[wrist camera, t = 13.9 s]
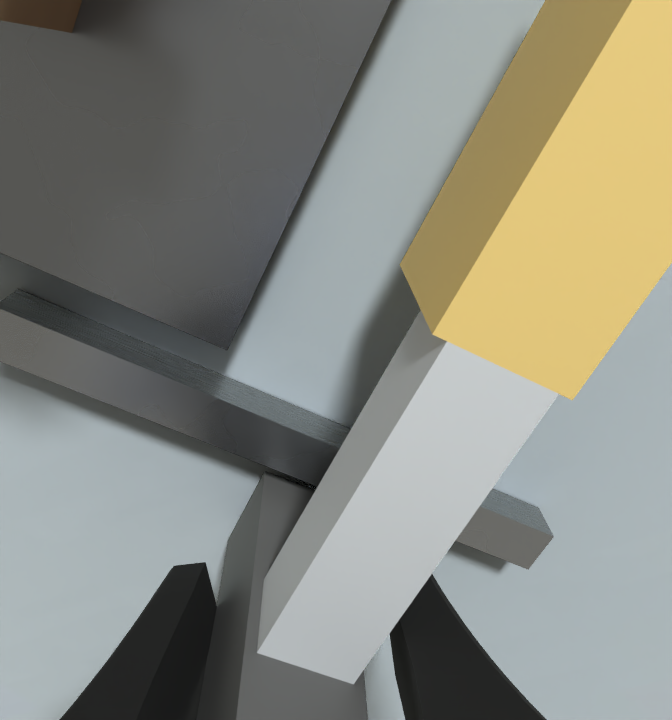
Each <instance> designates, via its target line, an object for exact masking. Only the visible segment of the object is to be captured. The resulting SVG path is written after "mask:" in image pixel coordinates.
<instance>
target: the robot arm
mask: <svg viewBox="0 0 672 720" xmlns="http://www.w3.org/2000/svg"><path fill="white" fill-rule="evenodd" d="M216 608H217V606H216V602H215V598H214V594H213V590H212V586H211V582H210V578H209V574H208V571H207V567H206V563H205V562H204V563H195V564H186V565H178V566H174V567H173V568H172V569H171V570H170V572H169V573H168V575H167V576H166V578H165V579H164V580H163V582H162V583H161V585H160V586H159V588H158V589H157V591H156V592H155V594H154V595H153V597H152V598H151V600H150V601H149V603H148V604H147V606H146V607H145V609H144V610H143V612H142V613H141V615H140V616H139V617H138V619H137V620H136V622H135V623H134V625H133V626H132V628H131V629H130V630H129V632H128V633H127V634H126V636H125V637H124V639H123V640H122V641H121V643H120V644H119V645H118V647H117V648H116V650H115V651H114V652H113V654H112V655H111V657H110V658H109V659H108V661H107V662H106V663H105V664H104V666H103V667H102V668H101V670H100V671H99V672H98V673H97V675H96V676H95V677H94V678H93V680H92V681H91V682H90V683H89V685H88V686H87V687H86V688H85V690H84V691H83V692H82V693H81V695H80V696H79V697H78V699H77V700H76V701H75V702H74V703H73V705H72V706H71V707H70V708H69V709H68V711H67V712H66V713H65V714H64V715H63V716H62V718H61V719H60V720H196V719H197V713H198V707H199V702H200V696H201V691H202V685H203V679H204V674H205V668H206V663H207V657H208V652H209V648H210V642H211V636H212V631H213V625H214V620H215V614H216ZM390 640H391V647H392V655H393V662H394V670H395V676H396V680H397V685H398V689H399V693H400V698H401V702H402V706H403V711H404V715H405V720H546V719H545V718H544V717H543V716H542V715H541V714H540V712H539V711H538V710H537V709H536V708H535V707H534V706H533V705H532V704H531V703H530V702H529V701H528V700H527V699H526V698H525V697H524V696H523V695H522V693H521V692H520V691H519V690H518V689H517V688H516V687H515V686H514V685H513V684H512V683H511V681H510V680H509V679H508V678H507V677H506V676H505V674H504V673H503V672H502V671H501V670H500V669H499V667H498V666H497V665H496V664H495V663H494V661H493V660H492V659H491V658H490V656H489V655H488V654H487V653H486V651H485V650H484V649H483V648H482V646H481V645H480V644H479V643H478V641H477V640H476V639H475V637H474V636H473V635H472V633H471V632H470V631H469V629H468V628H467V627H466V625H465V624H464V622H463V621H462V619H461V618H460V617H459V615H458V614H457V612H456V611H455V609H454V608H453V606H452V605H451V603H450V602H449V601H448V599H447V597H446V596H445V594H444V593H443V591H442V590H441V588H440V586H439V585H438V583H437V581H436V580H435V578H434V576H433V575H432V574H431V576H430V577H429V578H428V580H427V581H426V583H425V584H424V586H423V587H422V588H421V590H420V591H419V593H418V594H417V595H416V597H415V598H414V600H413V601H412V602H411V604H410V605H409V607H408V608H407V610H406V611H405V612H404V614H403V615H402V617H401V618H400V619H399V621H398V622H397V624H396V625H395V626H394V628H393V629H392V631H391V632H390Z"/></svg>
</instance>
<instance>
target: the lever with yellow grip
mask: <svg viewBox="0 0 672 720" xmlns="http://www.w3.org/2000/svg"><path fill="white" fill-rule="evenodd" d="M671 263H672V0H545V2H544V4H543V6H542V7H541V9H540V11H539V13H538V15H537V17H536V18H535V20H534V22H533V24H532V26H531V27H530V29H529V31H528V33H527V35H526V37H525V38H524V40H523V42H522V44H521V46H520V47H519V49H518V51H517V53H516V55H515V56H514V58H513V60H512V62H511V64H510V66H509V67H508V69H507V71H506V73H505V75H504V76H503V78H502V80H501V82H500V84H499V85H498V87H497V89H496V91H495V93H494V95H493V96H492V98H491V100H490V102H489V104H488V105H487V107H486V109H485V111H484V113H483V115H482V116H481V118H480V120H479V122H478V124H477V125H476V127H475V129H474V131H473V133H472V134H471V136H470V138H469V140H468V142H467V144H466V145H465V147H464V149H463V151H462V153H461V154H460V156H459V158H458V160H457V162H456V163H455V165H454V167H453V169H452V171H451V173H450V174H449V176H448V178H447V180H446V182H445V183H444V185H443V187H442V189H441V191H440V193H439V194H438V196H437V198H436V200H435V202H434V203H433V205H432V207H431V209H430V211H429V212H428V214H427V216H426V218H425V220H424V222H423V223H422V225H421V227H420V229H419V231H418V232H417V234H416V236H415V238H414V240H413V241H412V243H411V245H410V247H409V249H408V251H407V252H406V254H405V256H404V258H403V260H402V261H401V263H400V266H401V269H402V271H403V273H404V275H405V277H406V279H407V281H408V284H409V286H410V288H411V290H412V292H413V294H414V296H415V299H416V301H417V303H418V305H419V307H420V309H421V310H420V311H419V313H418V315H417V317H416V318H415V320H414V322H413V323H412V325H411V327H410V329H409V330H408V332H407V334H406V335H405V337H404V339H403V341H402V342H401V344H400V346H399V348H398V349H397V351H396V353H395V354H394V356H393V358H392V360H391V361H390V363H389V365H388V366H387V368H386V370H385V372H384V373H383V375H382V377H381V379H380V380H379V382H378V384H377V385H376V387H375V389H374V391H373V392H372V394H371V396H370V397H369V399H368V401H367V403H366V404H365V406H364V408H363V410H362V411H361V413H360V415H359V416H358V418H357V420H356V422H355V423H354V425H353V427H352V428H351V430H350V432H349V434H348V435H347V437H346V439H345V441H344V442H343V444H342V446H341V447H340V449H339V451H338V453H337V454H336V456H335V458H334V459H333V461H332V463H331V465H330V466H329V468H328V470H327V472H326V473H325V475H324V477H323V478H322V480H321V482H320V484H319V485H318V487H317V489H316V490H312V489H309V488H307V487H304V486H302V485H299V484H297V483H294V482H292V481H289V480H286V479H284V478H281V477H279V476H276V475H274V474H271V473H269V472H266V471H265V472H264V474H263V476H262V478H261V480H260V482H259V483H258V485H257V487H256V489H255V491H254V493H253V495H252V497H251V498H250V500H249V502H248V504H247V506H246V508H245V510H244V511H243V513H242V515H241V517H240V519H239V521H238V523H237V524H236V526H235V528H234V530H233V532H232V534H231V536H230V538H229V539H228V545H227V551H226V556H225V562H224V567H223V573H222V579H221V584H220V590H219V595H218V601H217V608H216V614H215V620H214V625H213V631H212V636H211V642H210V648H209V652H208V657H207V663H206V668H205V674H204V679H203V685H202V691H201V696H200V702H199V707H198V713H197V719H196V720H368V716H367V704H366V693H365V682H364V669H365V667H366V666H367V665H368V663H369V662H370V660H371V659H372V658H373V656H374V655H375V653H376V652H377V650H378V649H379V648H380V646H381V645H382V643H383V642H384V641H385V639H386V638H387V636H388V635H389V634H390V632H391V631H392V629H393V628H394V626H395V625H396V624H397V622H398V621H399V619H400V618H401V617H402V615H403V614H404V612H405V611H406V610H407V608H408V607H409V605H410V604H411V602H412V601H413V600H414V598H415V597H416V595H417V594H418V593H419V591H420V590H421V588H422V587H423V586H424V584H425V583H426V581H427V580H428V578H429V577H430V576H431V574H432V573H433V571H434V570H435V569H436V567H437V566H438V564H439V563H440V562H441V560H442V559H443V557H444V556H445V554H446V553H447V552H448V550H449V549H450V547H451V546H452V545H453V543H454V542H455V540H456V539H457V538H458V536H459V535H460V533H461V532H462V530H463V529H464V528H465V526H466V525H467V523H468V522H469V521H470V519H471V518H472V516H473V515H474V514H475V512H476V511H477V509H478V508H479V506H480V505H481V504H482V502H483V501H484V499H485V498H486V497H487V495H488V494H489V492H490V491H491V490H492V488H493V487H494V485H495V484H496V482H497V481H498V480H499V478H500V477H501V475H502V474H503V473H504V471H505V470H506V468H507V467H508V466H509V464H510V463H511V461H512V460H513V458H514V457H515V456H516V454H517V453H518V451H519V450H520V449H521V447H522V446H523V444H524V443H525V442H526V440H527V439H528V437H529V436H530V434H531V433H532V432H533V430H534V429H535V427H536V426H537V425H538V423H539V422H540V420H541V419H542V418H543V416H544V415H545V413H546V412H547V410H548V409H549V408H550V406H551V405H552V403H553V402H554V401H555V399H556V398H557V396H558V395H559V394H560V395H562V396H564V397H567V398H569V399H571V400H573V399H574V397H575V396H576V395H577V393H578V392H579V391H580V389H581V388H582V386H583V385H584V384H585V382H586V381H587V379H588V378H589V377H590V375H591V374H592V373H593V371H594V370H595V368H596V367H597V366H598V364H599V363H600V361H601V360H602V359H603V357H604V356H605V354H606V353H607V352H608V350H609V349H610V348H611V346H612V345H613V343H614V342H615V341H616V339H617V338H618V336H619V335H620V334H621V332H622V331H623V329H624V328H625V327H626V325H627V324H628V323H629V321H630V320H631V318H632V317H633V316H634V314H635V313H636V311H637V310H638V309H639V307H640V306H641V305H642V303H643V302H644V300H645V299H646V298H647V296H648V295H649V293H650V292H651V291H652V289H653V288H654V286H655V285H656V284H657V282H658V281H659V280H660V278H661V277H662V275H663V274H664V273H665V271H666V270H667V268H668V267H669V266H670V264H671Z"/></svg>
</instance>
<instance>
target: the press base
mask: <svg viewBox="0 0 672 720" xmlns="http://www.w3.org/2000/svg"><path fill="white" fill-rule="evenodd" d="M390 2H391V0H82V2H81V5H80V9H79V12H78V15H77V18H76V21H75V25H74V28H73V31H72V33H69V32H63V31H58V30H52V29H46V28H41V27H35V26H30V25H24V24H18V23H13V22H7V21H1V20H0V253H2V254H5V255H7V256H9V257H12V258H14V259H16V260H19V261H21V262H23V263H26V264H28V265H30V266H33V267H35V268H37V269H40V270H42V271H44V272H47V273H49V274H51V275H54V276H56V277H58V278H60V279H63V280H65V281H67V282H70V283H72V284H74V285H77V286H79V287H81V288H84V289H86V290H88V291H91V292H93V293H95V294H98V295H100V296H102V297H105V298H107V299H109V300H112V301H114V302H116V303H119V304H121V305H123V306H126V307H128V308H130V309H133V310H135V311H137V312H140V313H142V314H144V315H147V316H149V317H151V318H154V319H156V320H158V321H161V322H163V323H165V324H168V325H170V326H172V327H174V328H177V329H179V330H181V331H184V332H186V333H188V334H191V335H193V336H195V337H198V338H200V339H202V340H205V341H207V342H209V343H212V344H214V345H216V346H219V347H221V348H223V349H226V350H228V348H229V346H230V343H231V341H232V339H233V337H234V335H235V333H236V331H237V328H238V326H239V324H240V322H241V320H242V318H243V316H244V313H245V311H246V309H247V307H248V305H249V303H250V301H251V299H252V296H253V294H254V292H255V290H256V288H257V286H258V284H259V281H260V279H261V277H262V275H263V273H264V271H265V269H266V267H267V264H268V262H269V260H270V258H271V256H272V254H273V252H274V249H275V247H276V245H277V243H278V241H279V239H280V237H281V235H282V232H283V230H284V228H285V226H286V224H287V222H288V220H289V217H290V215H291V213H292V211H293V209H294V207H295V205H296V202H297V200H298V198H299V196H300V194H301V192H302V190H303V188H304V185H305V183H306V181H307V179H308V177H309V175H310V173H311V170H312V168H313V166H314V164H315V162H316V160H317V158H318V156H319V153H320V151H321V149H322V147H323V145H324V143H325V141H326V138H327V136H328V134H329V132H330V130H331V128H332V126H333V124H334V121H335V119H336V117H337V115H338V113H339V111H340V109H341V106H342V104H343V102H344V100H345V98H346V96H347V94H348V92H349V89H350V87H351V85H352V83H353V81H354V79H355V77H356V74H357V72H358V70H359V68H360V66H361V64H362V62H363V59H364V57H365V55H366V53H367V51H368V49H369V47H370V45H371V42H372V40H373V38H374V36H375V34H376V32H377V30H378V27H379V25H380V23H381V21H382V19H383V17H384V15H385V13H386V10H387V8H388V6H389V4H390ZM0 362H3V363H5V364H8V365H10V366H13V367H16V368H18V369H21V370H23V371H26V372H28V373H31V374H33V375H36V376H38V377H41V378H43V379H46V380H49V381H51V382H54V383H56V384H59V385H61V386H64V387H66V388H69V389H71V390H74V391H76V392H79V393H82V394H84V395H87V396H89V397H92V398H94V399H97V400H99V401H102V402H104V403H107V404H109V405H112V406H115V407H117V408H120V409H122V410H125V411H127V412H130V413H132V414H135V415H137V416H140V417H142V418H145V419H148V420H150V421H153V422H155V423H158V424H160V425H163V426H165V427H168V428H170V429H173V430H175V431H178V432H181V433H183V434H186V435H188V436H191V437H193V438H196V439H198V440H201V441H203V442H206V443H208V444H211V445H214V446H216V447H219V448H221V449H224V450H226V451H229V452H231V453H234V454H236V455H239V456H241V457H244V458H247V459H249V460H252V461H254V462H257V463H259V464H262V465H264V466H267V467H269V468H272V469H274V470H277V471H280V472H282V473H285V474H287V475H290V476H292V477H295V478H297V479H300V480H302V481H305V482H307V483H310V484H313V485H315V486H318V485H319V484H320V482H321V480H322V478H323V477H324V475H325V473H326V472H327V470H328V468H329V466H330V465H331V463H332V461H333V459H334V458H335V456H336V454H337V453H338V451H339V449H340V447H341V446H342V444H343V442H344V441H345V439H346V437H347V435H348V434H349V432H350V430H351V429H350V428H347V427H345V426H342V425H340V424H338V423H335V422H333V421H331V420H328V419H326V418H323V417H321V416H319V415H316V414H314V413H311V412H309V411H307V410H304V409H302V408H300V407H297V406H295V405H292V404H290V403H288V402H285V401H283V400H281V399H278V398H276V397H273V396H271V395H269V394H266V393H264V392H262V391H259V390H257V389H254V388H252V387H250V386H247V385H245V384H242V383H240V382H238V381H235V380H233V379H231V378H228V377H226V376H223V375H221V374H219V373H216V372H214V371H212V370H209V369H207V368H204V367H202V366H200V365H197V364H195V363H193V362H190V361H188V360H185V359H183V358H181V357H178V356H176V355H173V354H171V353H169V352H166V351H164V350H162V349H159V348H157V347H154V346H152V345H150V344H147V343H145V342H143V341H140V340H138V339H135V338H133V337H131V336H128V335H126V334H124V333H121V332H119V331H116V330H114V329H112V328H109V327H107V326H104V325H102V324H100V323H97V322H95V321H93V320H90V319H88V318H85V317H83V316H81V315H78V314H76V313H74V312H71V311H69V310H66V309H64V308H62V307H59V306H57V305H55V304H52V303H50V302H47V301H45V300H43V299H40V298H38V297H35V296H33V295H31V294H28V293H26V292H24V291H21V290H19V289H18V290H16V291H15V292H13V293H12V294H11V295H9V296H8V297H7V298H5V299H4V300H2V301H1V302H0ZM553 537H554V536H553V534H552V532H551V530H550V529H549V527H548V525H547V523H546V521H545V519H544V517H543V515H542V513H541V511H540V510H539V508H538V507H535V506H533V505H530V504H528V503H526V502H523V501H521V500H518V499H516V498H514V497H511V496H509V495H507V494H504V493H502V492H499V491H497V490H495V489H492V490H491V491H490V492H489V494H488V495H487V497H486V498H485V499H484V501H483V502H482V504H481V505H480V506H479V508H478V509H477V511H476V512H475V514H474V515H473V516H472V518H471V519H470V521H469V522H468V523H467V525H466V526H465V528H464V529H463V530H462V532H461V533H460V535H459V536H458V538H457V539H456V540H455V541H457V542H460V543H462V544H465V545H467V546H470V547H472V548H475V549H477V550H480V551H483V552H485V553H488V554H490V555H493V556H495V557H498V558H500V559H503V560H505V561H508V562H510V563H513V564H516V565H518V566H521V567H523V568H526V569H529V568H530V566H531V565H532V564H533V563H534V561H535V560H536V559H537V558H538V556H539V555H540V554H541V552H542V551H543V550H544V549H545V547H546V546H547V545H548V543H549V542H550V541H551V540H552V538H553Z"/></svg>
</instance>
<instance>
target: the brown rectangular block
mask: <svg viewBox="0 0 672 720" xmlns="http://www.w3.org/2000/svg"><path fill="white" fill-rule="evenodd" d="M81 2H82V0H0V20H1V21H7V22H13V23H18V24H24V25H30V26H35V27H41V28H46V29H52V30H58V31H63V32H69V33H72V31H73V28H74V25H75V21H76V18H77V15H78V12H79V9H80V5H81Z"/></svg>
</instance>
